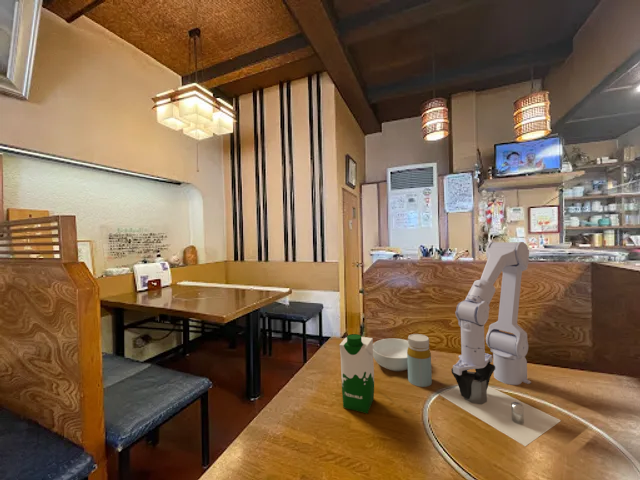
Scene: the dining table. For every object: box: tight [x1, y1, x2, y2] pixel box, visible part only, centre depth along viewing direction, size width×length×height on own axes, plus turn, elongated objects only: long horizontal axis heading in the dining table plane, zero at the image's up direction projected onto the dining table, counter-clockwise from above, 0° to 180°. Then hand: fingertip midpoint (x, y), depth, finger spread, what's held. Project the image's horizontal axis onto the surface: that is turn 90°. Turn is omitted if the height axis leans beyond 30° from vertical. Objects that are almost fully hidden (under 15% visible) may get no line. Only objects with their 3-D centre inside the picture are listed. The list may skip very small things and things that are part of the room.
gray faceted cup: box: [464, 370, 487, 404], centre depth 76 cm, size 6×6×6 cm
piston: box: [511, 402, 524, 425], centre depth 66 cm, size 2×2×4 cm
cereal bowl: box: [373, 337, 409, 372], centre depth 98 cm, size 17×17×7 cm
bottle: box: [407, 333, 433, 388], centre depth 85 cm, size 7×7×15 cm
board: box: [438, 385, 562, 447], centre depth 72 cm, size 16×22×1 cm
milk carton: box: [339, 333, 375, 414], centre depth 77 cm, size 9×9×20 cm
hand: (474, 392), depth 76 cm, fingers open, 7 cm apart
